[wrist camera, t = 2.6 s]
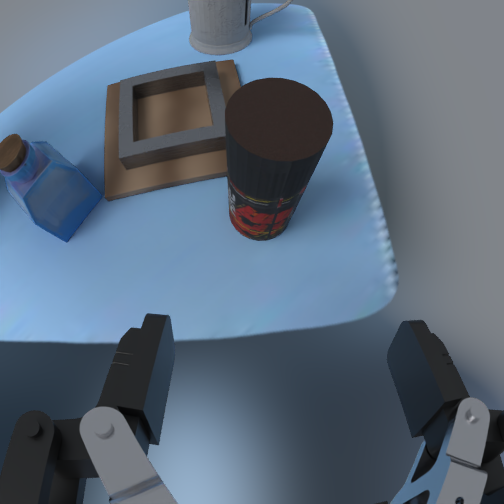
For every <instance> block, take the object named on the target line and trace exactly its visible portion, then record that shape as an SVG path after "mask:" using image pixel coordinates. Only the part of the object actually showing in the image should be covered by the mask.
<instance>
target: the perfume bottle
mask: <svg viewBox="0 0 504 504" xmlns="http://www.w3.org/2000/svg"><path fill="white" fill-rule="evenodd" d="M0 172H1V174H2V175H3V176H5V182H6V186H7V191H8V192H9V193H10V194H11V196H12V197H13V198H14V199H15V201H16V202H17V203H18V204H19V205H20V207H21V208H22V209H23V210H24V212H25V213H26V214H27V215H28V216H29V217H30V219H31V220H32V221H33V222H34V223H35V224H36V225H37V226H39V227H41V228H42V229H44V230H46V231H47V232H49V233H51V234H53V235H54V236H56V237H58V238H60V239H61V240H63V241H65V242H68V240H69V239H70V238H71V236H72V235H73V234H74V232H75V231H76V230H77V228H78V227H79V226H80V224H81V223H82V222H83V220H84V219H85V218H86V217H87V215H88V214H89V213H90V212H91V210H92V209H93V208H94V207H95V205H96V204H97V203H98V202H99V201H100V199H101V198H102V197H103V196H102V195H101V194H100V193H99V191H98V190H97V189H96V188H95V187H94V186H93V185H92V184H91V183H90V182H89V181H88V180H87V179H86V177H85V176H84V175H83V174H82V173H81V172H80V171H79V170H78V169H77V168H76V167H75V166H74V165H72V164H71V163H70V162H69V161H68V160H67V159H65V158H64V157H63V156H62V155H61V154H60V153H59V152H57V151H56V150H55V149H54V148H53V147H52V146H51V145H50V144H48V143H47V142H46V141H44V142H31V143H30V144H29V143H28V142H27V141H26V140H21V138H20V136H19V135H17V134H12V135H10V136H8V137H6V138H5V139H4V140H3V141H2V142H1V143H0Z"/></svg>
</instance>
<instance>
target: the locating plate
mask: <svg viewBox="0 0 504 504" xmlns="http://www.w3.org/2000/svg"><path fill="white" fill-rule="evenodd" d="M239 88H241V85H240V82H239V78H238V75H237V71H236V68H235V64H234V61H233V60H226V61H218V62H215V61H209V62H203V63H197V64H191V65H185V66H180V67H175V68H170V69H165V70H161V71H156V72H152V73H147V74H143V75H139V76H135V77H131V78H128V79H124V80H120V82H118V83H114V84H111V85H108V88H107V101H106V117H105V147H104V180H105V198H106V199H107V200H108V201H111V200H115V199H119V198H124V197H128V196H132V195H136V194H141V193H145V192H149V191H154V190H158V189H163V188H168V187H173V186H177V185H182V184H187V183H192V182H197V181H203V180H208V179H213V178H219V177H224V176H227V157H226V134H225V109H226V106H227V103H228V100H229V99H230V98H231V96H232V95H233V94H234V92H235V91H236V90H238V89H239Z"/></svg>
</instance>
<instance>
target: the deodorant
mask: <svg viewBox="0 0 504 504" xmlns="http://www.w3.org/2000/svg"><path fill="white" fill-rule="evenodd" d="M332 129H333V119H332V115H331V111H330V110H329V108H328V106H327V104H326V102H325V101H324V100H323V99H322V98H321V97H320V96H319V95H318V94H317V93H316V92H315V91H313V90H312V89H310V88H309V87H307V86H305V85H303V84H301V83H298V82H296V81H293V80H288V79H284V78H265V79H259V80H255V81H252V82H250V83H247V84H245V85H243V86H242V87H241V88H239V89H238V90H236V91H235V92H234V94H233V95H232V96H231V98H230V99H229V100H228V103H227V106H226V109H225V134H226V157H227V178H228V198H229V216H230V219H231V222H232V224H233V226H234V227H235V229H236V230H237V231H238V232H239V233H240V234H242V235H243V236H245V237H247V238H249V239H253V240H257V241H260V240H269V239H272V238H275V237H276V236H278V235H279V234H281V233H282V232H283V231H284V230H285V229H286V227H287V225H288V223H289V221H290V219H291V217H292V215H293V213H294V211H295V209H296V207H297V205H298V203H299V201H300V199H301V197H302V195H303V193H304V190H305V188H306V186H307V184H308V182H309V180H310V178H311V176H312V174H313V172H314V170H315V168H316V166H317V164H318V162H319V160H320V158H321V156H322V153H323V151H324V149H325V147H326V145H327V143H328V141H329V139H330V137H331V135H332Z"/></svg>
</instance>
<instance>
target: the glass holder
mask: <svg viewBox="0 0 504 504" xmlns="http://www.w3.org/2000/svg"><path fill="white" fill-rule="evenodd" d="M292 1H293V0H288V1H287V2H285V3H284V4H283V5H281V6H279V7H278V8H276V9H274V10H272V11H270V12H268V13H265V14H263V15H261V16H259V17H257V18H256V19H254V20H252V21H251V23H250V8H251V0H188V4H189V13H190V22H191V34H190V37H189V42H190V44H191V46H192V47H193V48H194V49H195V50H197V51H199V52H202V53H205V54H210V55H225V54H231V53H235V52H238V51H240V50H242V49H244V48H245V47H247V46H248V45H249V44H250V42H251V40H252V33H251V31H250V30H251V29H252V25H253V24H254V23H256V22H258V21H260V20H262V19H264V18H266V17H268V16H270V15H272V14H274V13H276V12H278V11H280V10H282V9H284V8H285V7H287V6H288V5H289V4H290V3H291V2H292ZM249 24H250V25H249Z"/></svg>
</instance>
